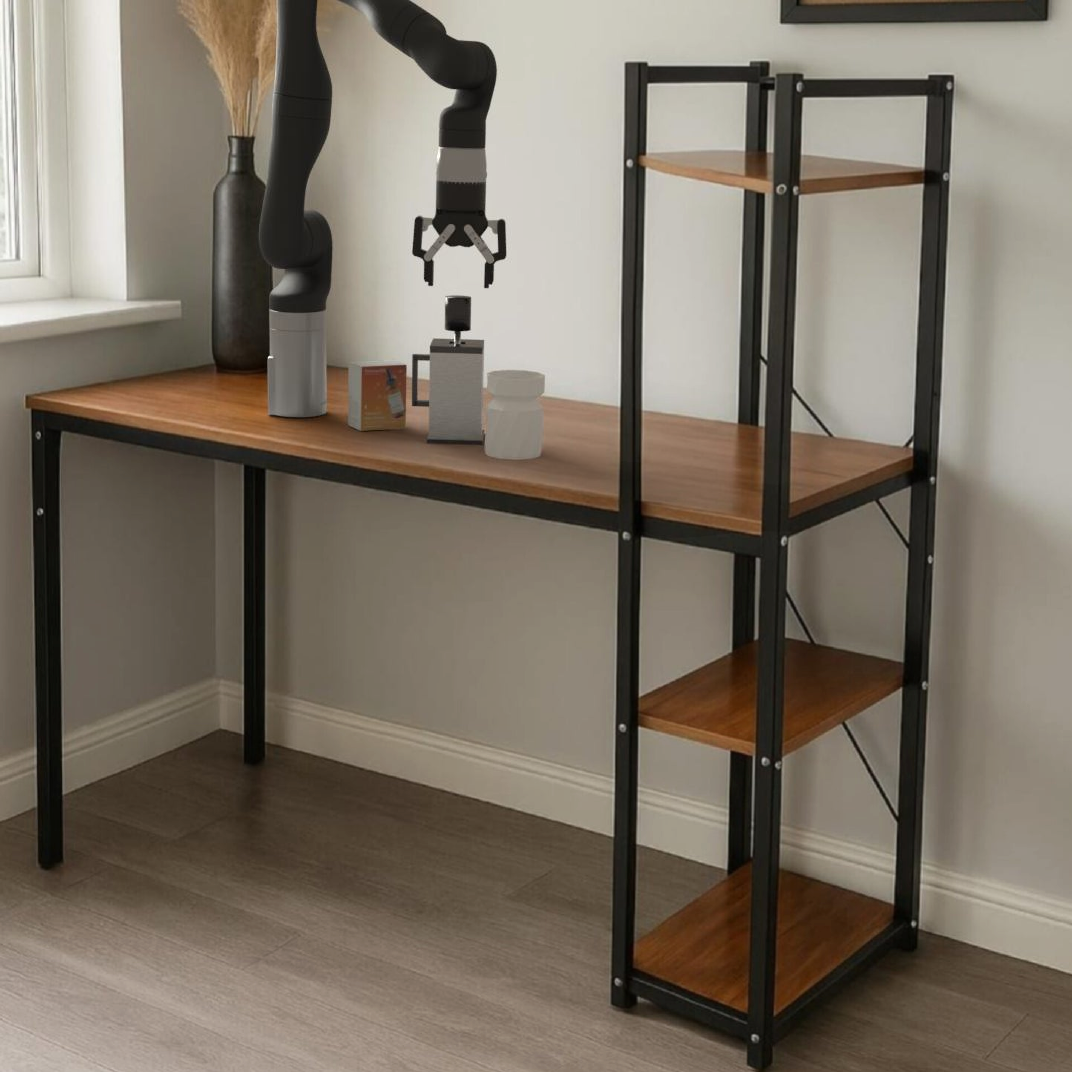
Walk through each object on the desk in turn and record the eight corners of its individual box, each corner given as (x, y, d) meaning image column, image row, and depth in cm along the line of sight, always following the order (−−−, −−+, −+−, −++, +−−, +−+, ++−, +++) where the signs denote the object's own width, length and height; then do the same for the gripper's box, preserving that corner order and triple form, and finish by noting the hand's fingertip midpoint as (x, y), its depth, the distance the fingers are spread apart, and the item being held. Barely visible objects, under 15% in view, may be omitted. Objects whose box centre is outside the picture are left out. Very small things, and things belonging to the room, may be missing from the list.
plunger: (438, 434, 260) (440, 298, 255) (440, 427, 265) (442, 294, 260) (471, 435, 260) (474, 299, 255) (473, 428, 265) (475, 295, 260)
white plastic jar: (497, 461, 248) (499, 380, 245) (476, 449, 256) (477, 371, 252) (551, 457, 251) (554, 378, 248) (528, 446, 259) (531, 368, 256)
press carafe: (409, 442, 259) (410, 345, 255) (413, 431, 267) (414, 337, 263) (482, 444, 259) (484, 347, 255) (484, 433, 267) (486, 339, 263)
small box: (360, 432, 265) (360, 366, 263) (347, 425, 270) (347, 360, 268) (407, 429, 269) (407, 363, 266) (393, 422, 274) (393, 358, 271)
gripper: (412, 178, 249) (410, 288, 253) (508, 181, 249) (504, 291, 253) (415, 175, 256) (414, 282, 260) (509, 178, 256) (505, 285, 260)
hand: (458, 286), depth 257 cm, fingers open, 8 cm apart
